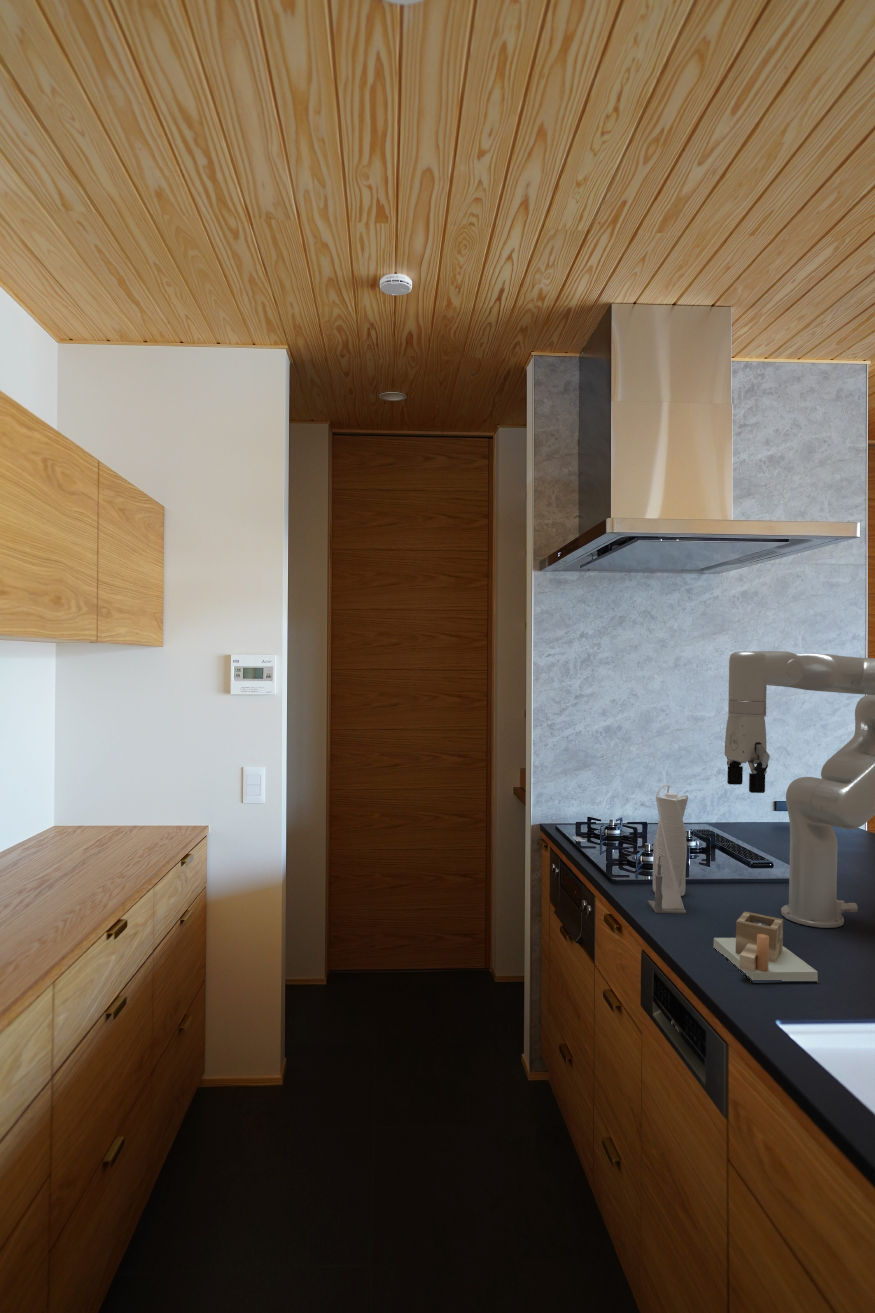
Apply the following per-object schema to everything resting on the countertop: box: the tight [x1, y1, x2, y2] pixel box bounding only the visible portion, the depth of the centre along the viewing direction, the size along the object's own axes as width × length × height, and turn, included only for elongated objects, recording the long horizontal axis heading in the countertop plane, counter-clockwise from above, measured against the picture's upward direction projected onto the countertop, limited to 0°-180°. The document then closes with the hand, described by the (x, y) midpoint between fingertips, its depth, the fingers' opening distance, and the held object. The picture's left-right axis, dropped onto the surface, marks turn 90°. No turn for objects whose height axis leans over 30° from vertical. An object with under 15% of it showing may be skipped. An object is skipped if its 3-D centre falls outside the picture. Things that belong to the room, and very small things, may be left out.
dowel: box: [756, 934, 769, 972], centre depth 133 cm, size 2×2×6 cm
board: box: [713, 937, 819, 982], centre depth 140 cm, size 12×16×2 cm
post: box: [752, 920, 770, 927], centre depth 141 cm, size 3×3×6 cm
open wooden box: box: [735, 911, 784, 972], centre depth 138 cm, size 14×7×6 cm, turn 145°
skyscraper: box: [647, 784, 689, 915], centre depth 171 cm, size 8×8×28 cm
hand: (745, 788), depth 158 cm, fingers open, 9 cm apart
